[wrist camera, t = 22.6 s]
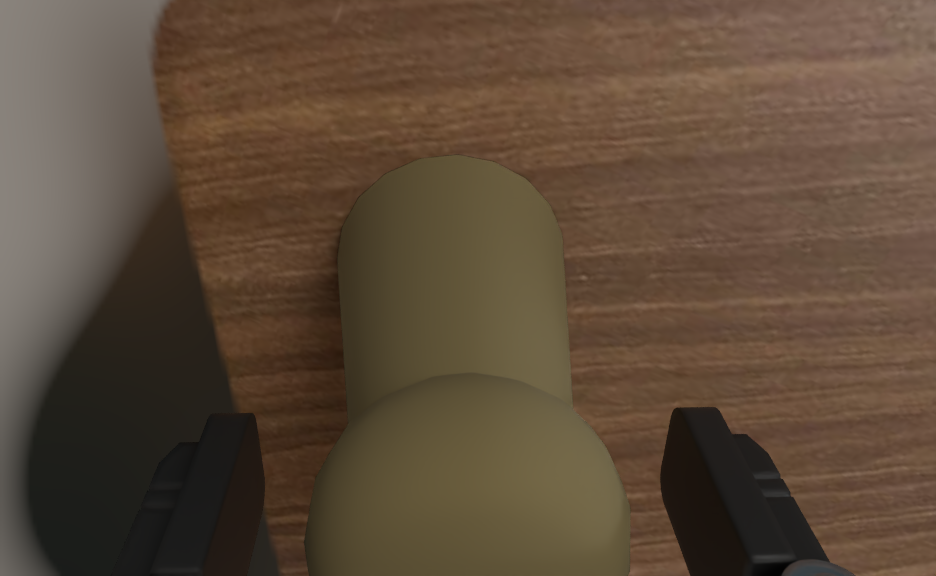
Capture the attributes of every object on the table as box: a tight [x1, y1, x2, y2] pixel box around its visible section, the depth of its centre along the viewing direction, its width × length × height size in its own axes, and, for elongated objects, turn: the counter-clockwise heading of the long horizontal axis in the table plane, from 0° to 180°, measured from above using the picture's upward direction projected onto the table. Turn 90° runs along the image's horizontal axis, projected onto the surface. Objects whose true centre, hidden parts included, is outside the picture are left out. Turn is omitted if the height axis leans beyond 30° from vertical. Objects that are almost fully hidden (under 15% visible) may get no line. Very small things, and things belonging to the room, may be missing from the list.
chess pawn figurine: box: [304, 155, 630, 576], centre depth 16 cm, size 6×6×11 cm
